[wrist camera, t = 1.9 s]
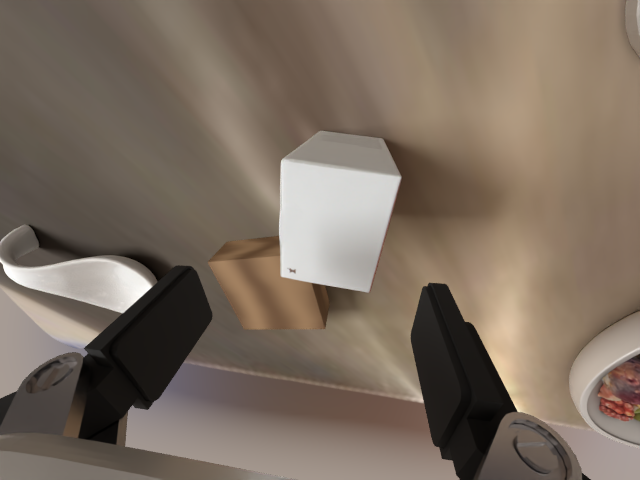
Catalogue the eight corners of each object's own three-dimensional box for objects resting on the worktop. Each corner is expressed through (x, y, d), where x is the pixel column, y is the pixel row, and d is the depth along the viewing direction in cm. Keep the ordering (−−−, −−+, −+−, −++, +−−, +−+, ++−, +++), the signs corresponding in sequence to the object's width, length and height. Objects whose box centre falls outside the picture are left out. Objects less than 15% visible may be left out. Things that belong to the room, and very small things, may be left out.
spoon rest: (171, 259, 36) (132, 292, 30) (173, 307, 42) (141, 343, 36) (19, 204, 35) (-53, 227, 29) (45, 262, 41) (-10, 290, 35)
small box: (368, 213, 26) (370, 296, 16) (313, 205, 27) (277, 279, 16) (385, 136, 22) (405, 175, 11) (319, 128, 23) (276, 157, 12)
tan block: (311, 231, 29) (302, 253, 25) (329, 301, 35) (325, 329, 31) (228, 240, 32) (207, 262, 28) (257, 303, 38) (244, 329, 34)
